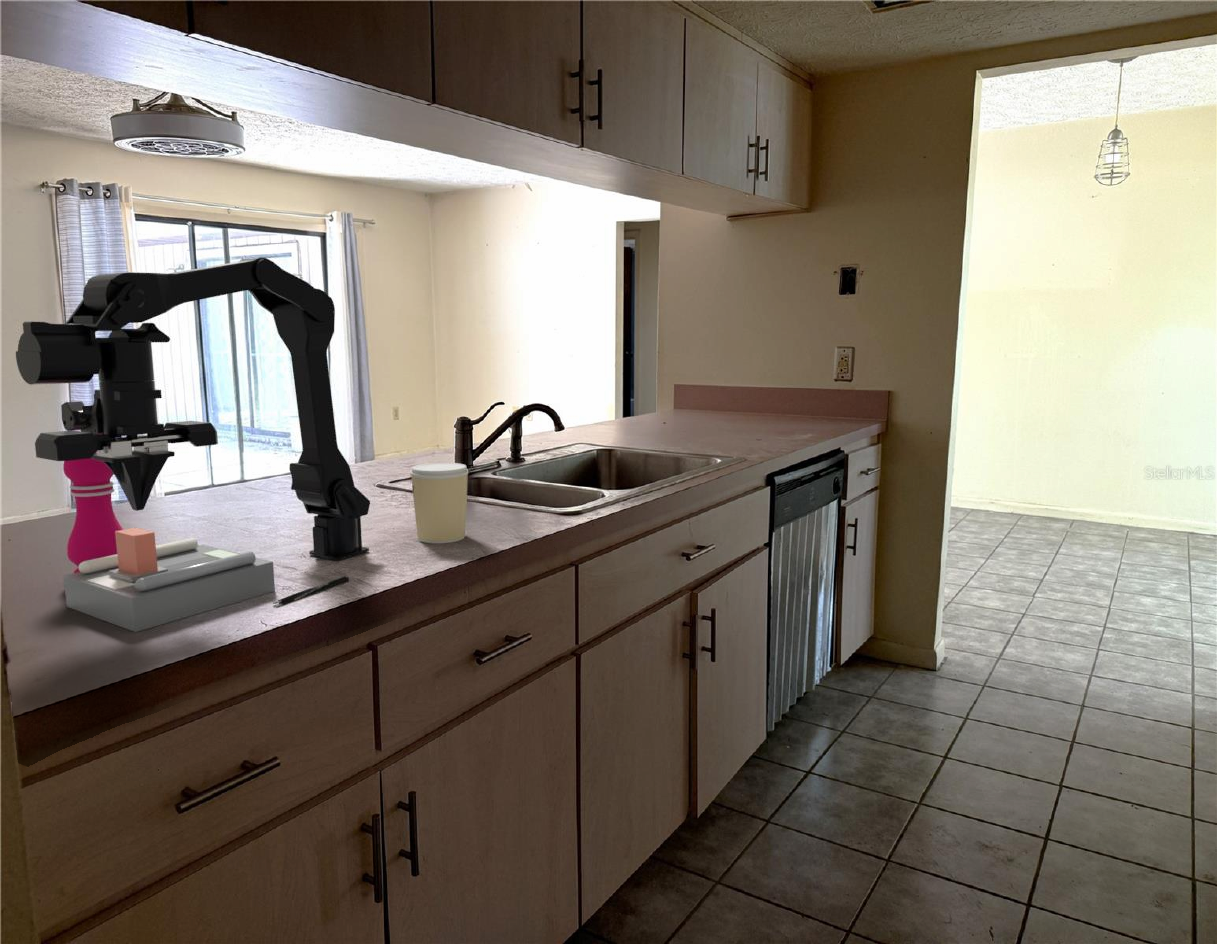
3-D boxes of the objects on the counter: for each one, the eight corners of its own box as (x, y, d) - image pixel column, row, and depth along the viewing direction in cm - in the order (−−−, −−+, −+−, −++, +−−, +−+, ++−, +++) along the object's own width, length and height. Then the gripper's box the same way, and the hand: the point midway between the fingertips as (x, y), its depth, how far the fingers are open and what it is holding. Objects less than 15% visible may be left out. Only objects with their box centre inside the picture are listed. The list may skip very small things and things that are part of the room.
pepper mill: (142, 572, 116) (129, 432, 113) (113, 588, 109) (98, 438, 105) (90, 572, 116) (75, 432, 112) (58, 588, 109) (41, 439, 105)
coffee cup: (436, 528, 142) (434, 460, 140) (481, 534, 138) (479, 464, 136) (400, 540, 134) (397, 468, 132) (447, 547, 130) (444, 473, 128)
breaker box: (204, 571, 116) (201, 533, 115) (274, 590, 108) (272, 549, 107) (66, 606, 101) (61, 562, 100) (135, 632, 93) (130, 584, 92)
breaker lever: (145, 567, 104) (141, 525, 103) (168, 573, 101) (164, 531, 100) (109, 575, 100) (104, 532, 99) (131, 582, 97) (127, 538, 96)
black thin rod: (277, 609, 101) (277, 601, 101) (272, 608, 102) (271, 600, 102) (349, 583, 112) (349, 576, 112) (344, 582, 113) (344, 575, 112)
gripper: (167, 376, 109) (176, 491, 112) (6, 382, 94) (20, 515, 96) (216, 379, 103) (224, 500, 106) (52, 385, 88) (67, 527, 90)
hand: (138, 509), depth 100 cm, fingers closed
